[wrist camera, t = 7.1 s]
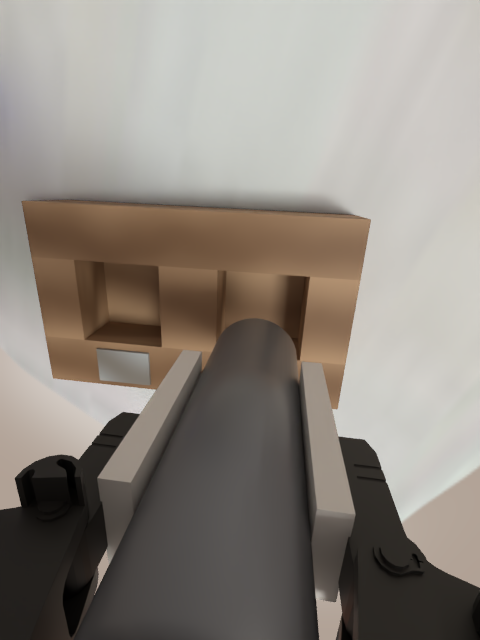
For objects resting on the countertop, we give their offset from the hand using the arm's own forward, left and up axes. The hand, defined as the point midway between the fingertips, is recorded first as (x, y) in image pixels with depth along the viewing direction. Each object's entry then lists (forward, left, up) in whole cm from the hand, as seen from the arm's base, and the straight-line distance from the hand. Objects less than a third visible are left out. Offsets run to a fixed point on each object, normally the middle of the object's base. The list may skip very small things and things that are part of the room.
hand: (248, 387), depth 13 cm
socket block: (0, -5, -12) cm, 13 cm away
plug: (0, 0, -3) cm, 3 cm away
